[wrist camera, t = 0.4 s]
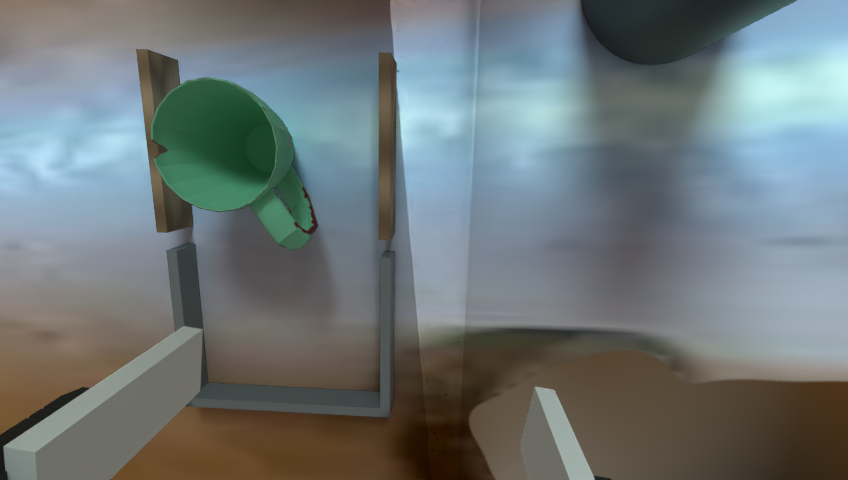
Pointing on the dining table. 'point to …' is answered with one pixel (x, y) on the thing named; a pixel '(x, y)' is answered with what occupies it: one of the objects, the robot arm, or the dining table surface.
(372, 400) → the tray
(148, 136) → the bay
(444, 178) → the dining table surface
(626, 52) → the vase
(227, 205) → the mug
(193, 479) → the dining table surface
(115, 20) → the dining table surface
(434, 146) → the dining table surface
